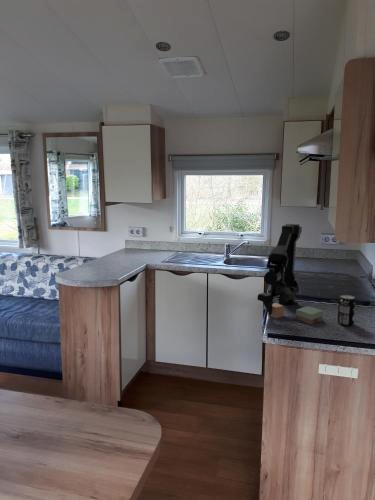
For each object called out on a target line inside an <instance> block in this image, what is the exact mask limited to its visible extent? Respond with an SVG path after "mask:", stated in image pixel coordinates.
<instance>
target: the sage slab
mask: <svg viewBox="0 0 375 500" xmlns="http://www.w3.org/2000/svg"><path fill="white" fill-rule="evenodd" d="M295 311H296V312H295V316H296V315H298V316H301V317H304V318H307V319H310V320H313V319H316V318H319V317H322V316H323V315H324V311H323V310H321V309H318V308H315V307H312V306H309V305H308V306H307V305H306V306H303V307H299V308H297V309H296V310H295ZM323 317H324V316H323Z"/></svg>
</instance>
